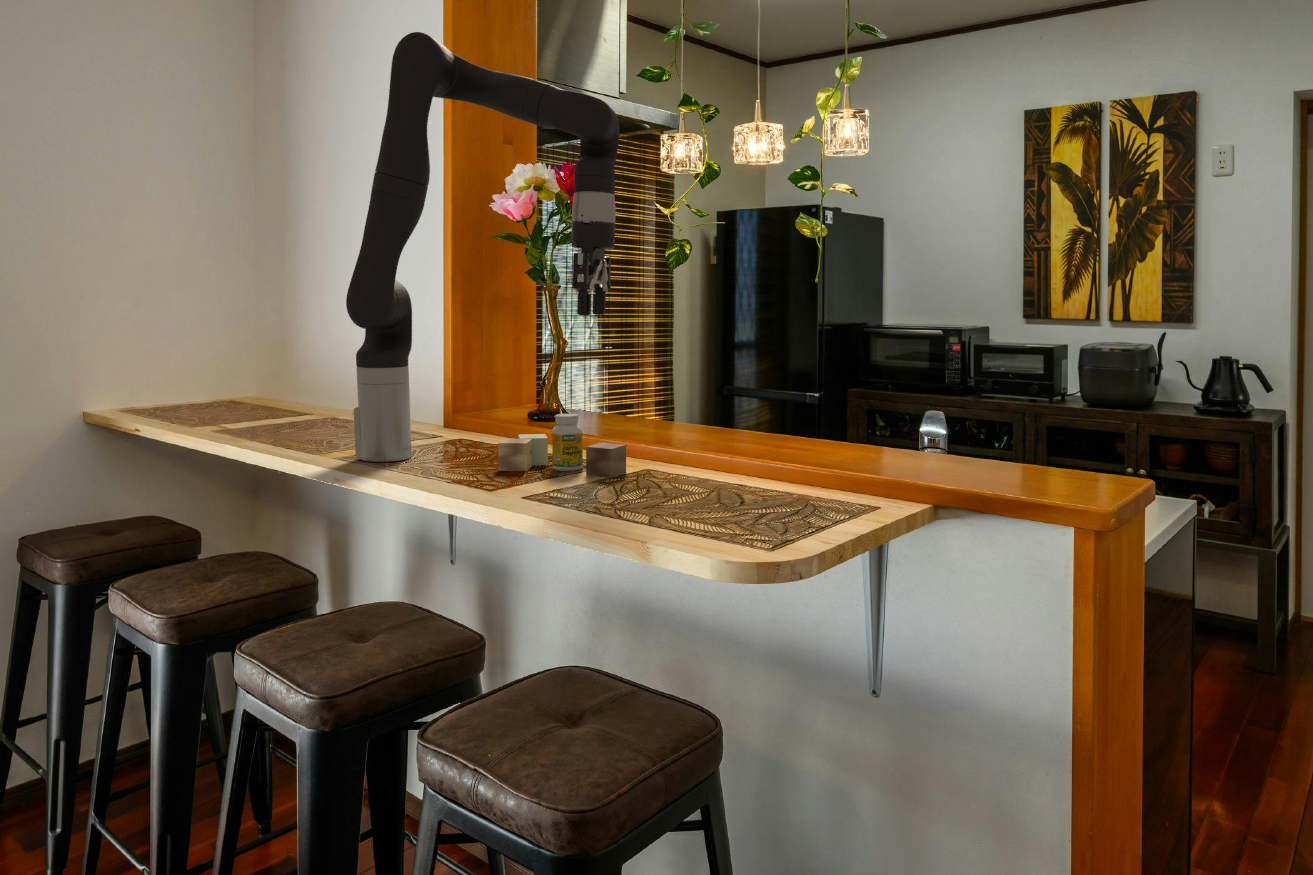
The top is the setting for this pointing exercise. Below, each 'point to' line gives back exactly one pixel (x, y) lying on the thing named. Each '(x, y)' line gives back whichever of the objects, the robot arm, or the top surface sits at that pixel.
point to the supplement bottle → (567, 443)
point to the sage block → (538, 448)
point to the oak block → (515, 454)
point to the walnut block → (605, 460)
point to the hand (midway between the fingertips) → (591, 315)
